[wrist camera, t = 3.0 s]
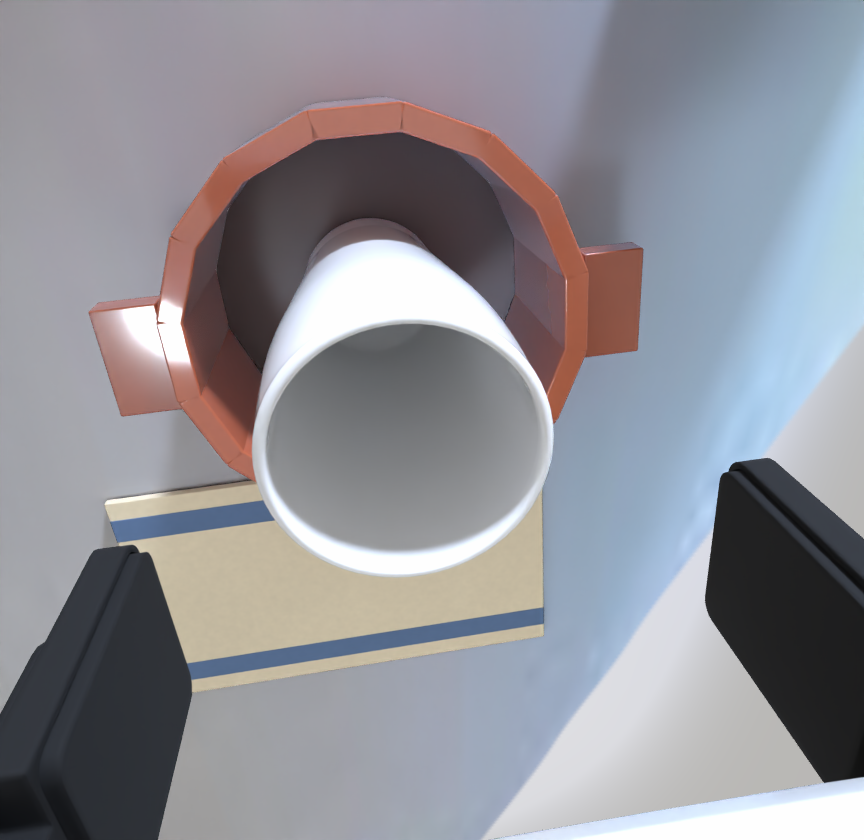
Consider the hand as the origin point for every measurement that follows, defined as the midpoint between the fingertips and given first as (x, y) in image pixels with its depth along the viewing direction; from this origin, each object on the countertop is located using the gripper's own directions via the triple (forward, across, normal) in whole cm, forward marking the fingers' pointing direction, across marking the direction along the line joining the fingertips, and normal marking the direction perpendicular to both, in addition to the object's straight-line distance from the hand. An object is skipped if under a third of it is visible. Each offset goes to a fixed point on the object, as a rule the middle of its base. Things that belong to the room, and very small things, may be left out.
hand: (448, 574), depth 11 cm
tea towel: (+19, +4, +15) cm, 24 cm away
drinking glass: (+19, 0, 0) cm, 19 cm away
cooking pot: (+19, 0, 0) cm, 19 cm away
